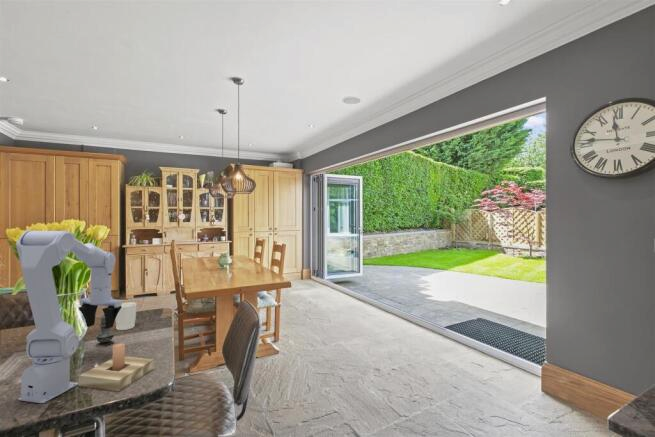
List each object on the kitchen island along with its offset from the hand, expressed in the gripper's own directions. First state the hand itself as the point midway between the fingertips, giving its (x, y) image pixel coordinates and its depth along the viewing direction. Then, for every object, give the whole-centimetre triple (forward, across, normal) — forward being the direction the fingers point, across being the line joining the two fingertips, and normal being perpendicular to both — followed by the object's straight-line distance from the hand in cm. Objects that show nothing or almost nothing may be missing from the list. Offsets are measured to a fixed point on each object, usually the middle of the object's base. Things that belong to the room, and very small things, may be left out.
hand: (100, 326), depth 106 cm
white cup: (+11, +15, -27) cm, 33 cm away
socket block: (+10, -17, +10) cm, 22 cm away
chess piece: (+11, +8, -10) cm, 17 cm away
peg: (+10, -17, +10) cm, 22 cm away
